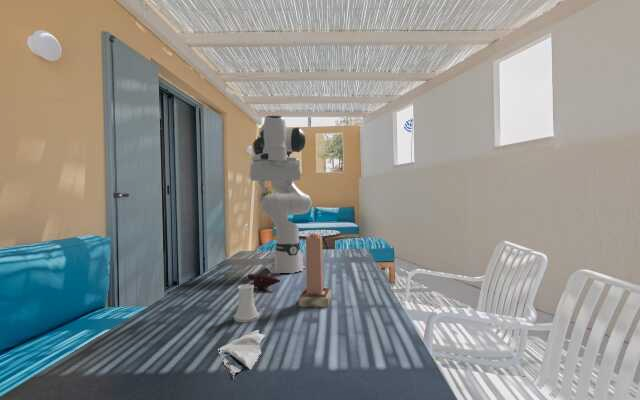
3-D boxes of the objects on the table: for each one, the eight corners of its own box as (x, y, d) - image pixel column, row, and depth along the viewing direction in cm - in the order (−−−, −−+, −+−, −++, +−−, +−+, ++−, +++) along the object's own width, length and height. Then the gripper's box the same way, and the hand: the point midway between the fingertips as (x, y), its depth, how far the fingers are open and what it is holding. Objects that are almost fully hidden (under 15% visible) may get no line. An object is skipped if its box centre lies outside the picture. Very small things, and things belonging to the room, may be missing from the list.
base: (298, 305, 117) (298, 294, 117) (304, 297, 127) (304, 286, 127) (327, 306, 116) (327, 295, 116) (331, 297, 125) (331, 287, 125)
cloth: (241, 330, 98) (241, 322, 98) (287, 334, 95) (287, 326, 95) (187, 378, 73) (186, 368, 73) (247, 385, 70) (246, 374, 70)
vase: (253, 323, 102) (252, 289, 102) (229, 321, 104) (229, 289, 103) (262, 314, 109) (261, 283, 109) (240, 313, 111) (239, 282, 111)
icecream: (284, 272, 141) (252, 273, 146) (275, 271, 134) (243, 272, 139) (284, 289, 139) (252, 290, 144) (275, 289, 132) (242, 290, 137)
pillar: (307, 295, 119) (305, 235, 119) (309, 291, 124) (308, 233, 124) (321, 295, 118) (320, 234, 118) (323, 291, 123) (322, 233, 123)
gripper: (295, 158, 141) (296, 192, 141) (247, 156, 131) (248, 193, 131) (302, 157, 136) (303, 192, 136) (253, 155, 125) (254, 192, 125)
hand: (276, 192), depth 133 cm, fingers open, 8 cm apart
